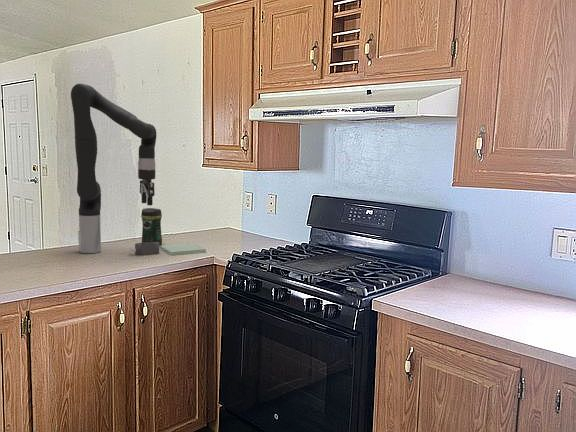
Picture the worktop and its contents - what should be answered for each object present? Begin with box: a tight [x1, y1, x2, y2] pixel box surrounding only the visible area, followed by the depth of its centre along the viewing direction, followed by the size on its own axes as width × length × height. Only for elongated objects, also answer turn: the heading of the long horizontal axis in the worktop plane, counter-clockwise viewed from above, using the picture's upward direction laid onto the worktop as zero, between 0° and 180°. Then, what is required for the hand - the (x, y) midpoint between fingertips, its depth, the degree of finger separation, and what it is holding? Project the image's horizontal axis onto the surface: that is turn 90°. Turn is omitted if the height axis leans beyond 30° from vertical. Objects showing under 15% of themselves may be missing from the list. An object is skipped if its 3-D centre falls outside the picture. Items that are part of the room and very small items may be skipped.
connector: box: [128, 242, 160, 257], centre depth 240 cm, size 13×4×5 cm, turn 122°
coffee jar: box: [140, 207, 163, 247], centre depth 260 cm, size 10×8×19 cm
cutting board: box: [159, 242, 207, 257], centre depth 250 cm, size 17×16×2 cm
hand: (146, 204), depth 238 cm, fingers open, 8 cm apart
